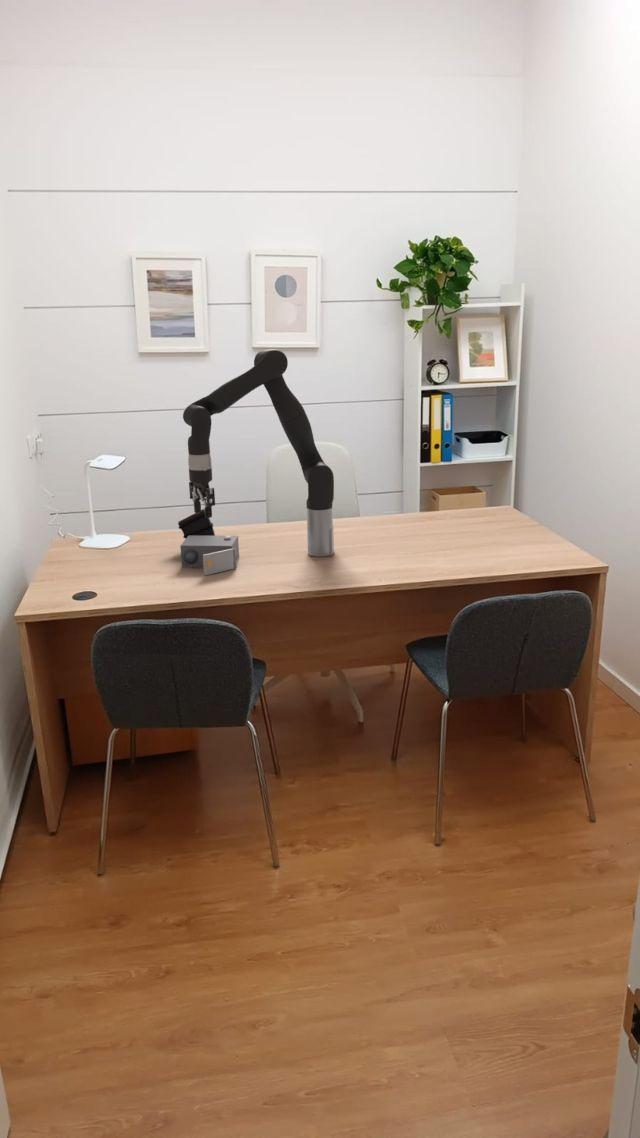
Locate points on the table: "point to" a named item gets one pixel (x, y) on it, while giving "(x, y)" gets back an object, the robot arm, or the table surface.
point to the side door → (219, 561)
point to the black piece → (196, 525)
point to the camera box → (205, 548)
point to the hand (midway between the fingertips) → (203, 515)
